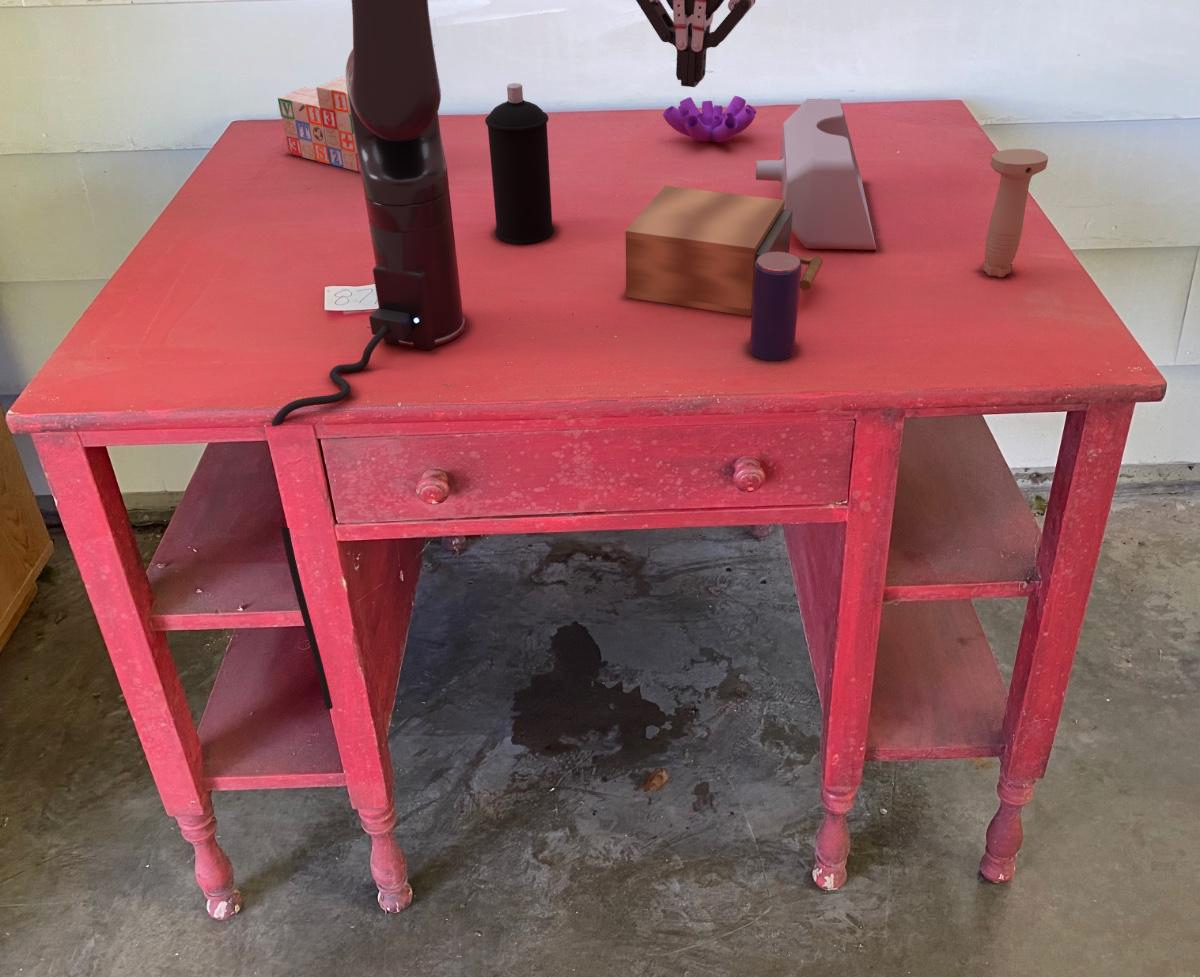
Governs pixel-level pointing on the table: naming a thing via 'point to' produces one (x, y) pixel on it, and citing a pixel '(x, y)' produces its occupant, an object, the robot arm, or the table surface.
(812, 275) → the drawer
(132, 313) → the table surface
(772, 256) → the can
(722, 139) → the pipe connector assembly
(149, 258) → the table surface
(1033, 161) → the handle
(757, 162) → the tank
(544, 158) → the aerosol can
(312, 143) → the stack of blocks
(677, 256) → the cabinet
